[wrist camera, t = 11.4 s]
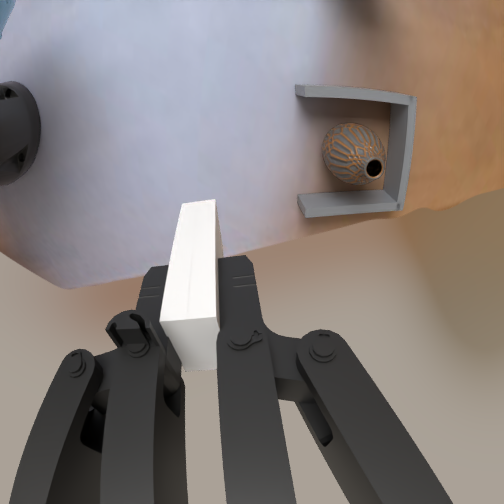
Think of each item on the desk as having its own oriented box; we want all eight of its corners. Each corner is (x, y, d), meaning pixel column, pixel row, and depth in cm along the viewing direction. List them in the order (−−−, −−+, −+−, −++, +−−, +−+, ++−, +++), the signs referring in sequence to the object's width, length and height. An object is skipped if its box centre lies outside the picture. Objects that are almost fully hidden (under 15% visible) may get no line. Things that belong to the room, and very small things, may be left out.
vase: (373, 131, 30) (412, 151, 23) (353, 177, 33) (385, 208, 26) (327, 110, 28) (359, 123, 21) (307, 160, 32) (331, 188, 25)
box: (297, 202, 35) (305, 217, 32) (295, 84, 26) (304, 85, 23) (388, 197, 35) (402, 210, 32) (398, 92, 26) (416, 96, 23)
